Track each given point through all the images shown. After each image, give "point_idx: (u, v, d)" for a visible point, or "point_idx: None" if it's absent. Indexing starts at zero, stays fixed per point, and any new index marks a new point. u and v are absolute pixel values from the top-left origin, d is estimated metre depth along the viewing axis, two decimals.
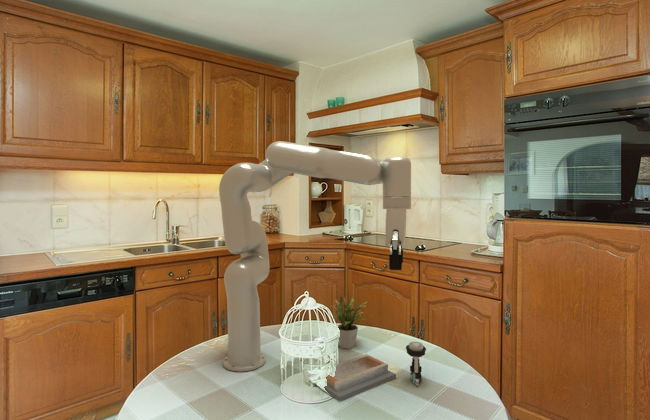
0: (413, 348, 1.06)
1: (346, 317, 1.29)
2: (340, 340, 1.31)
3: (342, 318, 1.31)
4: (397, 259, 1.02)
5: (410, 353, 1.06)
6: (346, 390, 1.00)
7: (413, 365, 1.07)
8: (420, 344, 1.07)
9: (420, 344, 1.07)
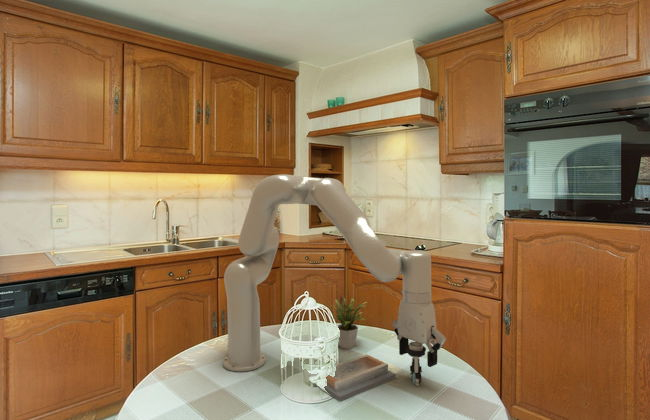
0: (413, 348, 1.06)
1: (346, 317, 1.29)
2: (340, 340, 1.31)
3: (342, 318, 1.31)
4: (436, 355, 1.02)
5: (410, 353, 1.06)
6: (346, 390, 1.00)
7: (413, 365, 1.07)
8: (420, 344, 1.07)
9: (420, 344, 1.07)
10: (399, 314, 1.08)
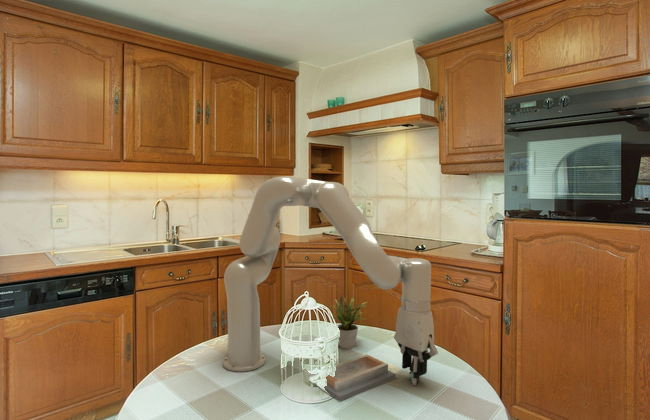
0: None
1: (346, 317, 1.29)
2: (340, 340, 1.31)
3: (342, 318, 1.31)
4: (426, 364, 1.05)
5: (410, 352, 1.06)
6: (346, 390, 1.00)
7: (412, 364, 1.07)
8: None
9: None
10: (397, 321, 1.08)
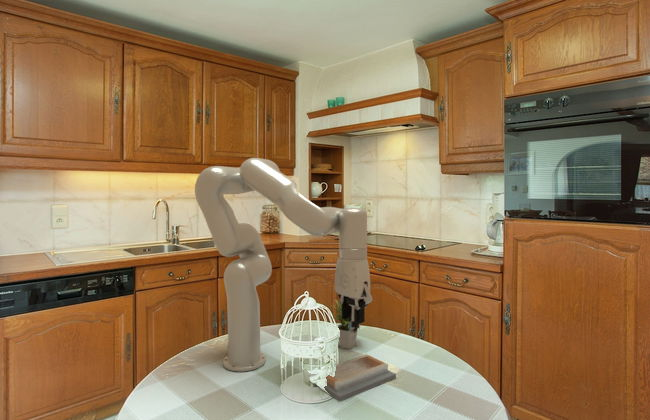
0: None
1: None
2: (340, 340, 1.31)
3: None
4: (363, 313, 1.05)
5: (348, 301, 1.06)
6: (346, 390, 1.00)
7: (351, 314, 1.07)
8: None
9: None
10: (336, 271, 1.09)
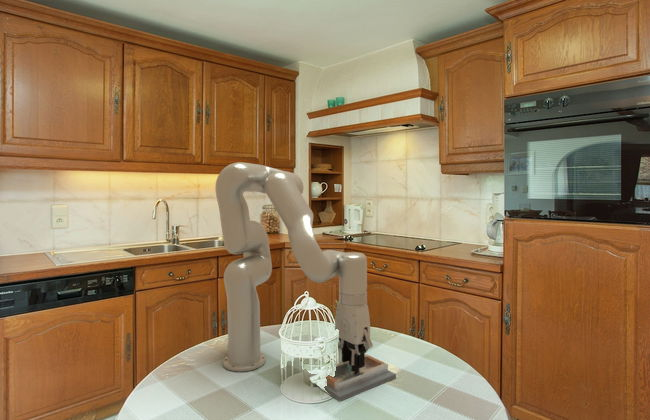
0: None
1: None
2: None
3: None
4: (363, 357, 1.05)
5: (348, 345, 1.07)
6: (346, 390, 1.00)
7: (351, 358, 1.08)
8: None
9: None
10: (336, 315, 1.09)
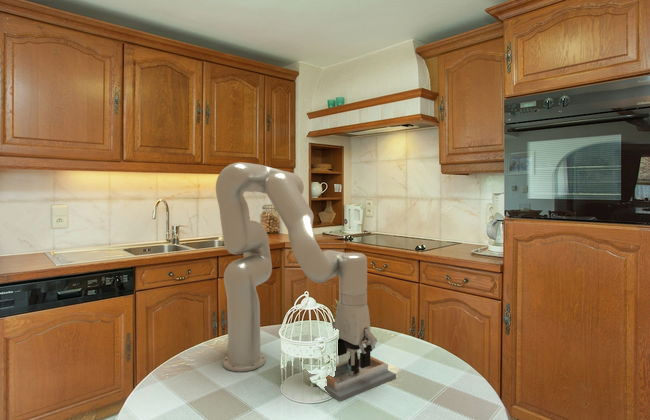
0: None
1: None
2: None
3: None
4: (369, 356, 1.04)
5: (346, 346, 1.07)
6: (346, 390, 1.00)
7: (350, 358, 1.08)
8: None
9: None
10: (336, 315, 1.09)
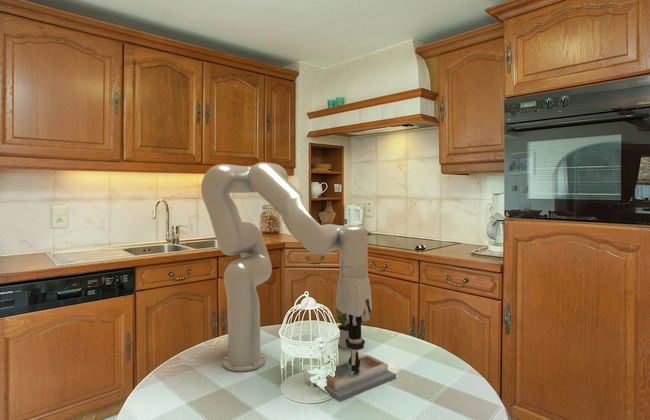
0: (351, 341, 1.07)
1: None
2: (340, 340, 1.31)
3: (342, 318, 1.31)
4: (360, 328, 1.07)
5: (348, 345, 1.07)
6: (346, 390, 1.00)
7: (351, 358, 1.08)
8: None
9: (359, 338, 1.08)
10: (337, 289, 1.09)
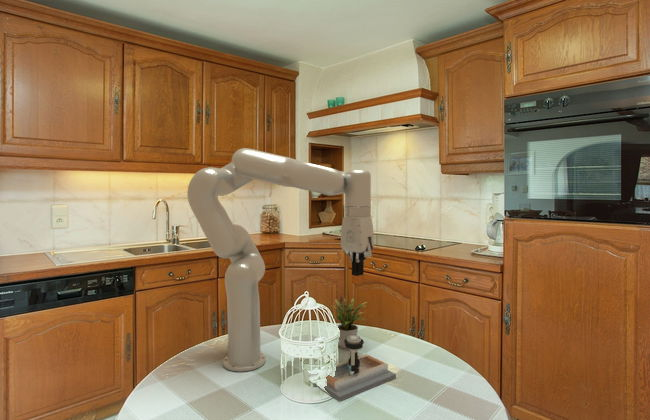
0: (349, 341, 1.07)
1: (346, 317, 1.29)
2: (340, 340, 1.31)
3: (342, 318, 1.31)
4: (362, 265, 1.15)
5: (346, 346, 1.07)
6: (346, 390, 1.00)
7: (350, 358, 1.08)
8: (358, 337, 1.08)
9: (358, 338, 1.08)
10: (342, 230, 1.17)
